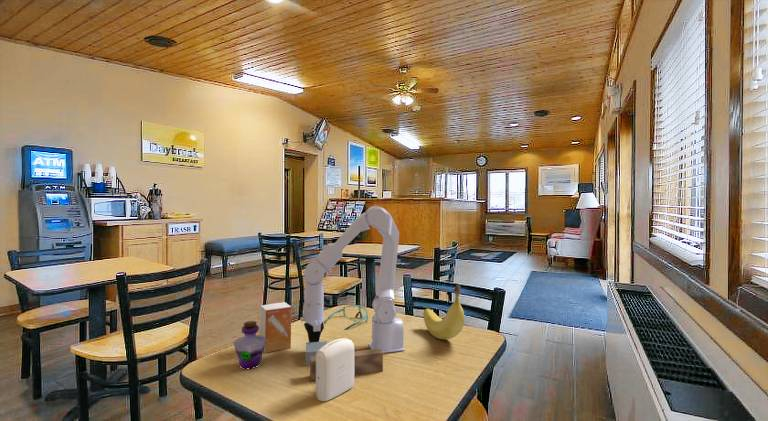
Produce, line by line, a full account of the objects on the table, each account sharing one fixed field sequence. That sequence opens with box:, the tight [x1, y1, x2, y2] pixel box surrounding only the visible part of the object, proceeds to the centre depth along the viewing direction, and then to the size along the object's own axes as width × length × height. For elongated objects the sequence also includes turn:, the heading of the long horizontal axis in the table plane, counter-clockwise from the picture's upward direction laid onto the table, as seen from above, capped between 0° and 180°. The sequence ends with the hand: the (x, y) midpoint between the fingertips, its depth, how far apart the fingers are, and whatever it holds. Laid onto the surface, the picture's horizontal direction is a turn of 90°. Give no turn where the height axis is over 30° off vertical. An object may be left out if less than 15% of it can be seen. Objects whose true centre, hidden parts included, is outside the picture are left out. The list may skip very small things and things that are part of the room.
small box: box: [259, 301, 292, 353], centre depth 116 cm, size 8×6×13 cm
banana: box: [422, 284, 465, 340], centre depth 126 cm, size 23×6×20 cm, turn 22°
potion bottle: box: [233, 320, 267, 370], centre depth 104 cm, size 9×9×12 cm
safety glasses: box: [323, 304, 369, 331], centre depth 142 cm, size 14×15×5 cm
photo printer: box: [315, 338, 355, 402], centre depth 90 cm, size 10×4×12 cm, turn 140°
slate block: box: [305, 341, 328, 366], centre depth 108 cm, size 6×7×4 cm
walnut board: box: [309, 349, 384, 382], centre depth 100 cm, size 19×3×5 cm, turn 108°
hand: (313, 347), depth 114 cm, fingers closed
